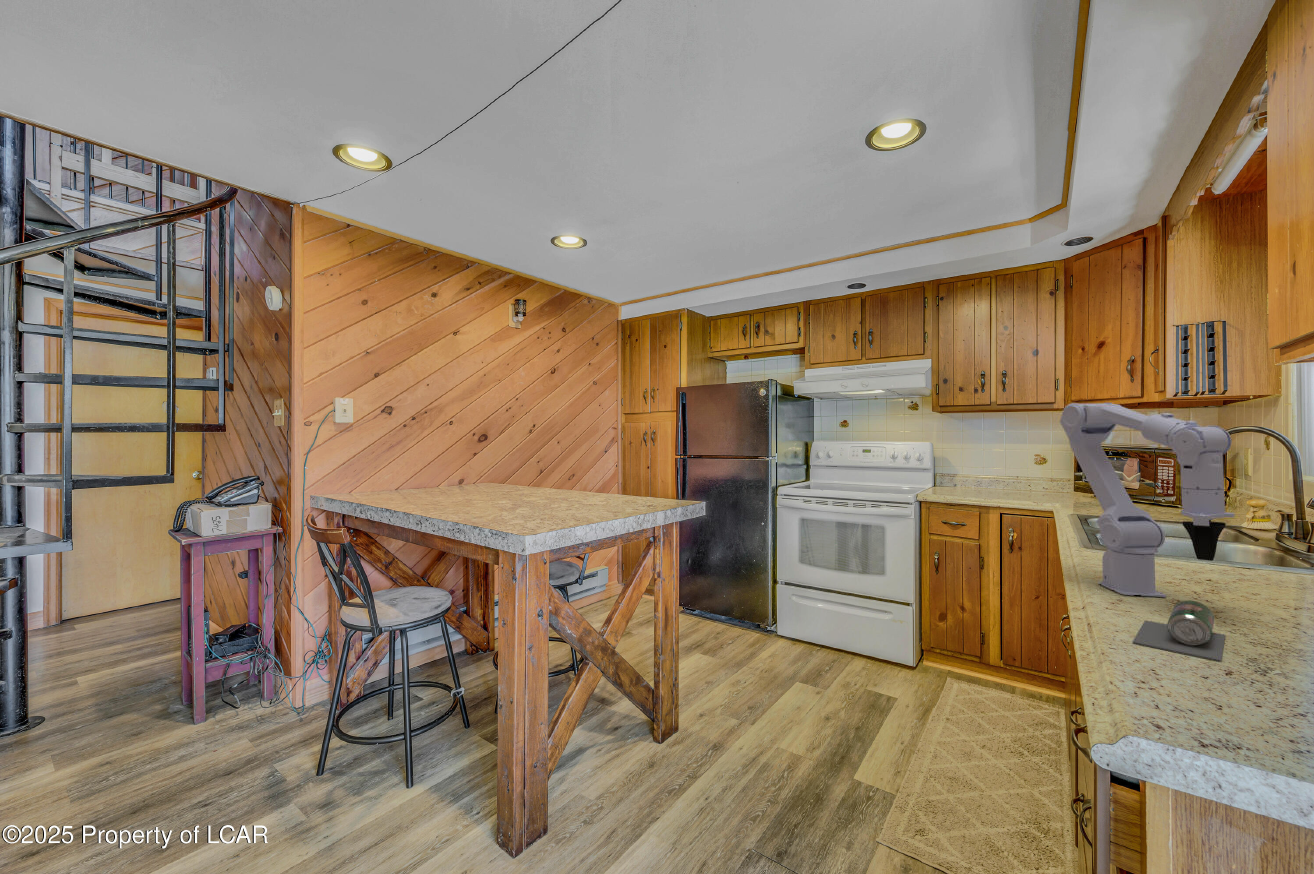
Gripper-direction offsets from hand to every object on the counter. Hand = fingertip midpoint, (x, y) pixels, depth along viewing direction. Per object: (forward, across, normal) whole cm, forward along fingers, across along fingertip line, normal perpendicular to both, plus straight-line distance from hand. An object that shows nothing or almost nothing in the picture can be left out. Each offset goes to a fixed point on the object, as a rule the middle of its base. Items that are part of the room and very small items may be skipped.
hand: (1205, 559), depth 100 cm
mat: (+11, -21, +2) cm, 24 cm away
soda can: (+8, -13, +1) cm, 15 cm away
